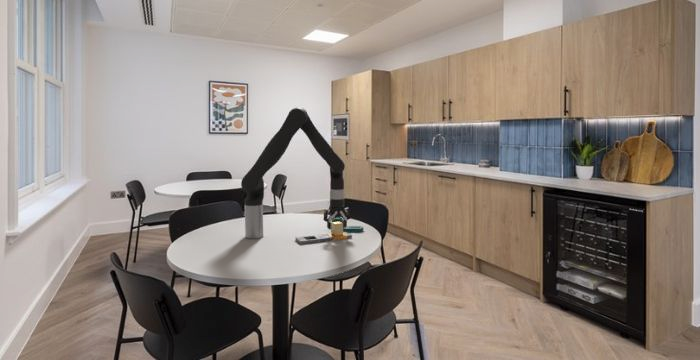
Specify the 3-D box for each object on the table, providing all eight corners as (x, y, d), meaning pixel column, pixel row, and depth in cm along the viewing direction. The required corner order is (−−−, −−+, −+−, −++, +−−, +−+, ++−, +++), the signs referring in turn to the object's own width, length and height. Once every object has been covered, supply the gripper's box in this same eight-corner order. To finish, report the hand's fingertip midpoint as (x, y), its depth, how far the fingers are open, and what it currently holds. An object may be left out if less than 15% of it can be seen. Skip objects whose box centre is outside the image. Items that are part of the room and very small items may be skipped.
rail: (295, 240, 200) (295, 237, 199) (345, 234, 212) (345, 231, 212) (300, 244, 192) (300, 241, 192) (351, 238, 205) (351, 235, 204)
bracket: (331, 232, 217) (331, 218, 216) (331, 229, 223) (331, 216, 223) (363, 232, 217) (363, 218, 216) (363, 229, 224) (363, 216, 223)
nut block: (331, 237, 206) (331, 222, 205) (339, 236, 208) (339, 221, 207) (335, 239, 202) (335, 224, 201) (343, 238, 204) (343, 223, 203)
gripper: (346, 195, 210) (346, 225, 211) (321, 197, 203) (321, 228, 205) (352, 197, 203) (352, 228, 205) (327, 199, 197) (327, 231, 198)
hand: (337, 228), depth 205 cm, fingers open, 8 cm apart
